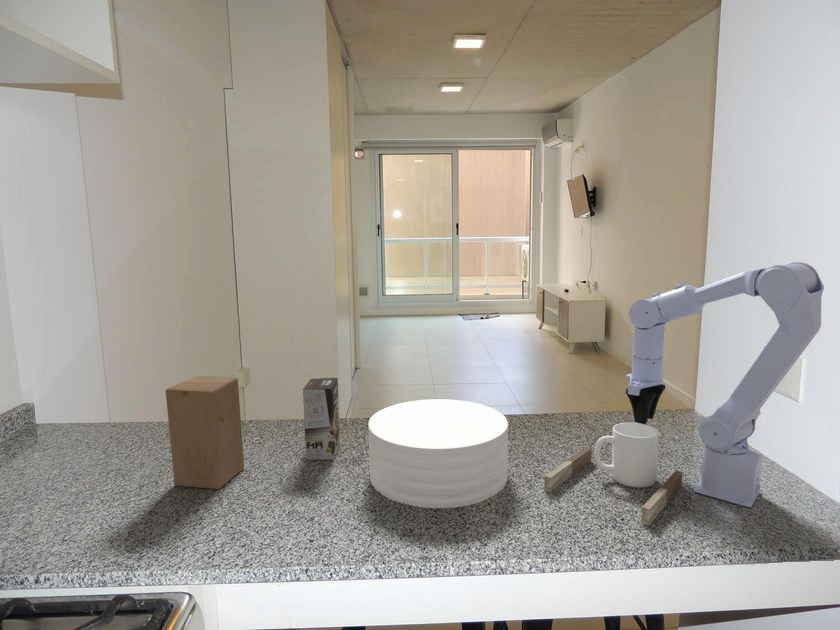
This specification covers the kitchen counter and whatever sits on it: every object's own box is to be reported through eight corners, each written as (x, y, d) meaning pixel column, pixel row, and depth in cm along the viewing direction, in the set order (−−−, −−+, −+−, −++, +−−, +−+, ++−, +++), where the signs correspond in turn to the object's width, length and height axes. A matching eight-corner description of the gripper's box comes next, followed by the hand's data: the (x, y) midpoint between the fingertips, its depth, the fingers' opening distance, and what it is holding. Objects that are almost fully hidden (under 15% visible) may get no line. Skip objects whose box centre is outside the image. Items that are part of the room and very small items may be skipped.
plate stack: (467, 439, 131) (467, 392, 130) (535, 490, 106) (536, 433, 104) (353, 459, 121) (351, 409, 119) (398, 522, 95) (396, 459, 94)
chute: (681, 486, 106) (682, 472, 105) (648, 526, 93) (649, 509, 92) (585, 459, 119) (586, 446, 118) (544, 490, 105) (544, 475, 105)
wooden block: (219, 490, 108) (211, 391, 104) (173, 486, 110) (164, 389, 106) (245, 468, 117) (238, 376, 114) (202, 464, 119) (195, 375, 116)
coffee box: (334, 460, 121) (331, 388, 118) (305, 460, 121) (301, 389, 118) (341, 443, 130) (338, 376, 127) (314, 443, 130) (310, 377, 127)
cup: (663, 488, 105) (665, 437, 104) (599, 488, 106) (600, 438, 104) (647, 469, 114) (649, 422, 112) (588, 470, 114) (589, 422, 112)
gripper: (640, 347, 121) (637, 407, 123) (614, 360, 110) (611, 425, 112) (674, 352, 116) (670, 414, 119) (650, 366, 106) (646, 433, 108)
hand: (644, 420), depth 115 cm, fingers open, 3 cm apart
